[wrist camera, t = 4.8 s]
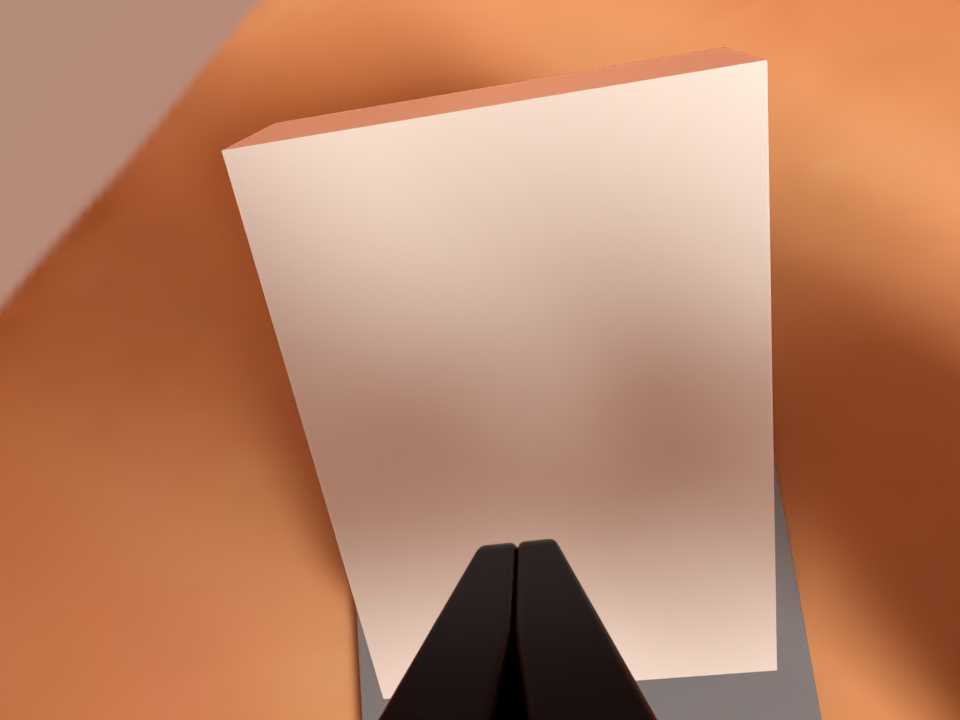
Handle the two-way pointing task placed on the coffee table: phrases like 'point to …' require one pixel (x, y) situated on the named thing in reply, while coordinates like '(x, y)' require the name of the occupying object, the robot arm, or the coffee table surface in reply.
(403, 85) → the coffee table surface
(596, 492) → the tile
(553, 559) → the robot arm
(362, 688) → the mat
